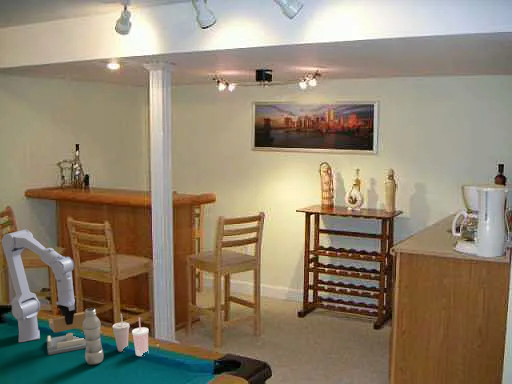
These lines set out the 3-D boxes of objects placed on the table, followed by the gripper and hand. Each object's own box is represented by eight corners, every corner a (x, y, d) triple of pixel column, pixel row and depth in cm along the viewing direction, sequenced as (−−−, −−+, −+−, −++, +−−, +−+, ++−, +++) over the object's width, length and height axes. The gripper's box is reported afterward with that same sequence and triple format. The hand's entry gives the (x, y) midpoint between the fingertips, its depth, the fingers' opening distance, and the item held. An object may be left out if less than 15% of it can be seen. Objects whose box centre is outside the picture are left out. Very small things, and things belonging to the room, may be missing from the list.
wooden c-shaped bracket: (49, 326, 224) (48, 314, 224) (80, 319, 231) (79, 307, 230) (54, 332, 218) (53, 320, 217) (86, 325, 224) (85, 313, 223)
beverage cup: (138, 358, 209) (136, 321, 207) (130, 353, 213) (127, 317, 211) (153, 353, 213) (150, 317, 210) (145, 348, 217) (142, 313, 215)
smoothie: (127, 353, 213) (124, 317, 211) (111, 352, 215) (108, 317, 213) (134, 346, 220) (131, 311, 218) (118, 345, 221) (115, 310, 219)
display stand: (46, 341, 228) (46, 333, 227) (91, 333, 234) (90, 325, 234) (48, 355, 215) (47, 346, 214) (94, 346, 221) (94, 338, 221)
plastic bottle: (87, 368, 202) (82, 314, 199) (84, 361, 208) (79, 308, 205) (106, 364, 205) (101, 310, 202) (101, 357, 211) (97, 305, 208)
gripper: (50, 287, 223) (53, 320, 225) (59, 296, 211) (63, 331, 213) (68, 283, 227) (71, 316, 229) (78, 292, 215) (82, 326, 217)
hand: (68, 323), depth 221 cm, fingers closed on wooden c-shaped bracket, 2 cm apart
